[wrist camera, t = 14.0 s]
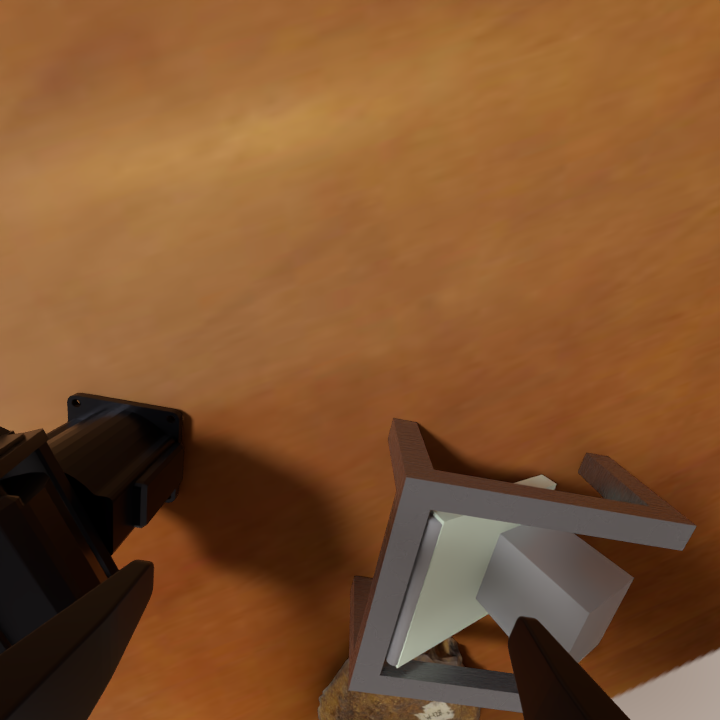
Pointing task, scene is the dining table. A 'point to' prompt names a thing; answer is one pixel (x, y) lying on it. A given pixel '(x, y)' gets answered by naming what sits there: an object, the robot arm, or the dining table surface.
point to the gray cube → (553, 586)
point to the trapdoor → (447, 579)
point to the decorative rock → (391, 713)
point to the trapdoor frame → (495, 502)
